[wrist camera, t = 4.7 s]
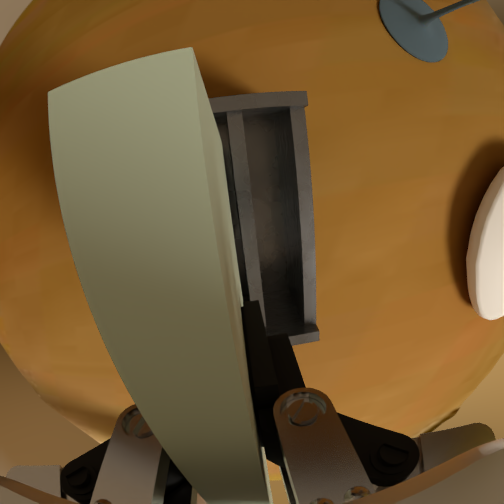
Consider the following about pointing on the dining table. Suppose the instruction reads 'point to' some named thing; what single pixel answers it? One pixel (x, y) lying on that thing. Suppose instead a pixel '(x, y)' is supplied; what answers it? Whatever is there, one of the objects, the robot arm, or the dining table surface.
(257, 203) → the rack
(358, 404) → the dining table surface
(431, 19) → the cocktail glass
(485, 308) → the plate
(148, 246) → the sage sheet
